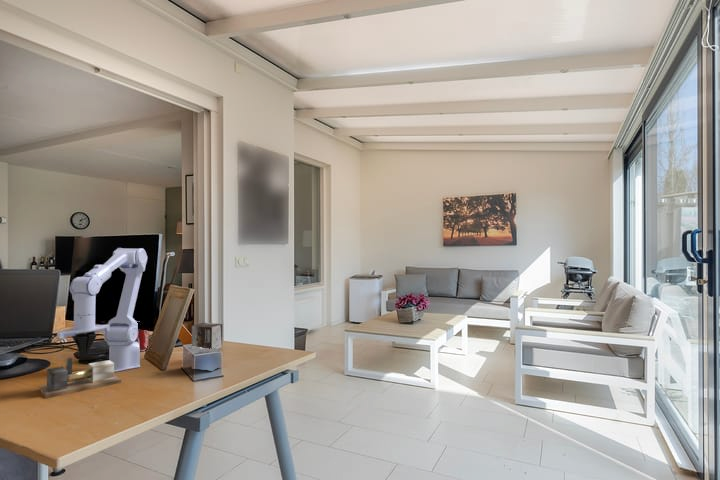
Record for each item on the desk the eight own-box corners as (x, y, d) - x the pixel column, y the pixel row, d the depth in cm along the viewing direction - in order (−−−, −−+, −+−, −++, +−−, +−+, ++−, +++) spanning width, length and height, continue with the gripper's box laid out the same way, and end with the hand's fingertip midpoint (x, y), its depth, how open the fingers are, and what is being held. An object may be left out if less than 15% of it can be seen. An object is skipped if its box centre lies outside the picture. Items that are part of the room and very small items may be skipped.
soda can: (142, 352, 175) (143, 323, 175) (131, 351, 176) (132, 322, 176) (151, 349, 180) (151, 321, 180) (140, 348, 181) (141, 320, 182)
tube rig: (111, 375, 144) (111, 356, 144) (121, 382, 137) (121, 362, 137) (39, 389, 129) (39, 368, 129) (46, 398, 122) (46, 375, 123)
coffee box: (222, 367, 155) (223, 323, 155) (211, 372, 149) (212, 326, 149) (202, 364, 158) (203, 322, 158) (190, 369, 152) (191, 325, 152)
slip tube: (89, 376, 136) (89, 353, 136) (91, 378, 134) (92, 355, 134) (55, 383, 129) (56, 359, 129) (57, 385, 127) (58, 360, 128)
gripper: (102, 310, 142) (102, 350, 142) (53, 316, 130) (52, 360, 130) (113, 312, 138) (112, 353, 138) (63, 318, 126) (62, 363, 126)
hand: (84, 356), depth 134 cm, fingers closed
